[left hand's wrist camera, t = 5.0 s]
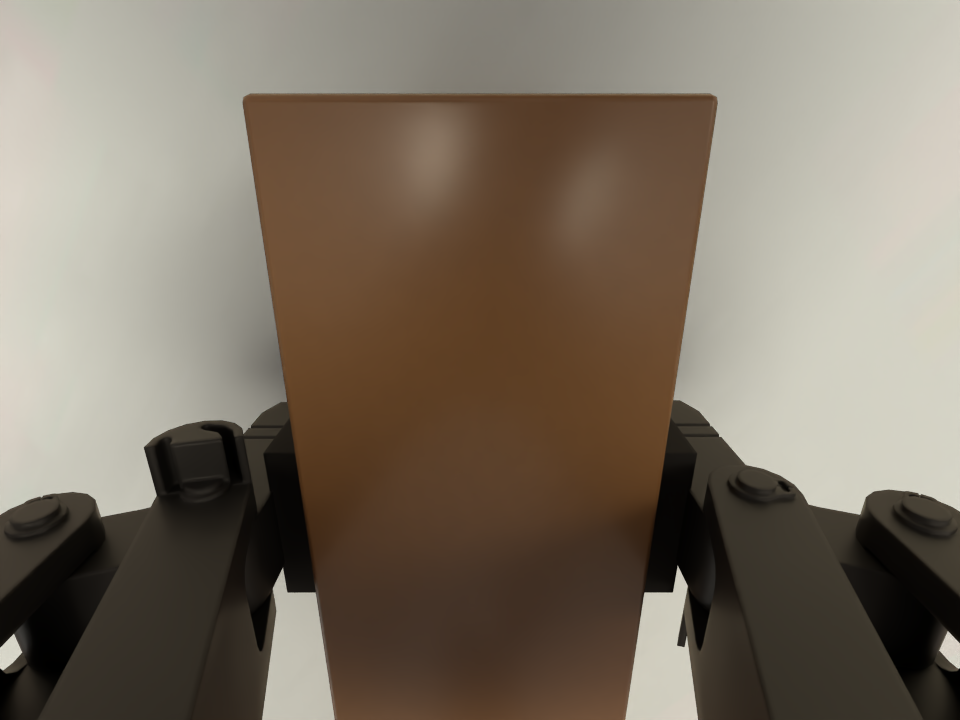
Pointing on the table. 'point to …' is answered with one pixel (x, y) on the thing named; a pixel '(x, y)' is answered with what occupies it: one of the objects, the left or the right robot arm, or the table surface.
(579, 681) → the post
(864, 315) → the table surface
